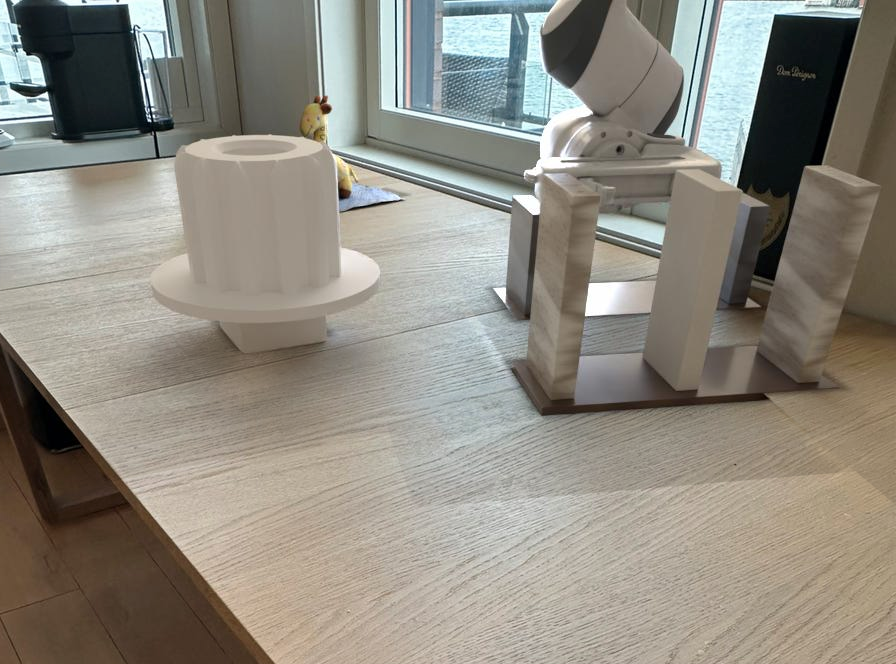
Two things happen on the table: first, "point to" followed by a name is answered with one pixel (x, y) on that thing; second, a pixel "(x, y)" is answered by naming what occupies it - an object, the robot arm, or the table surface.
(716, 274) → the white rectangular block
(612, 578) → the table surface
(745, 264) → the grey stand
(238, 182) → the flanged gear
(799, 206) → the marble pillar rack
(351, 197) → the stuffed giraffe
